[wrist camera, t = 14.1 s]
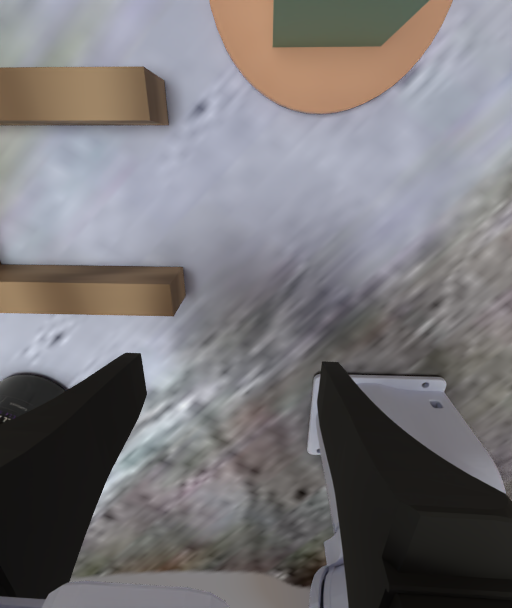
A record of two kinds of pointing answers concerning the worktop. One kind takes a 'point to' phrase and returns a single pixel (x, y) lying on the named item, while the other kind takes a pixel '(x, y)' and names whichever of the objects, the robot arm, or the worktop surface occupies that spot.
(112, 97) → the wooden u-shaped bracket
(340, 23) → the green block
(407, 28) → the terracotta pad
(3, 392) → the supplement bottle
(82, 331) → the worktop surface
